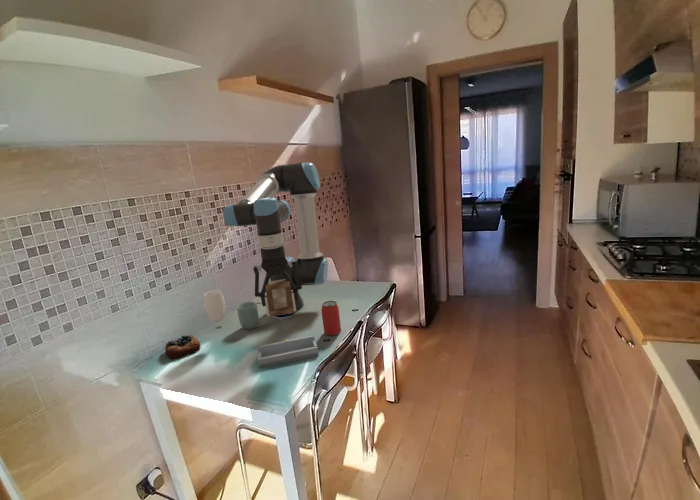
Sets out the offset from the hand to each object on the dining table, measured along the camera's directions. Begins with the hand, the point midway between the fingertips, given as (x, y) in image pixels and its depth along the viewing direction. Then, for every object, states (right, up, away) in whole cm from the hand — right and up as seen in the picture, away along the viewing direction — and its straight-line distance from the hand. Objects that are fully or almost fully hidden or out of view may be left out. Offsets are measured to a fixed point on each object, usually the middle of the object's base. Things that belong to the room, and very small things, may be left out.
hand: (281, 312), depth 125 cm
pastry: (-40, -18, +16) cm, 47 cm away
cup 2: (-19, -12, +31) cm, 38 cm away
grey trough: (+2, -16, +4) cm, 17 cm away
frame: (0, 0, 0) cm, 0 cm away
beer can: (+16, -11, +19) cm, 28 cm away
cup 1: (-27, -15, +20) cm, 36 cm away
